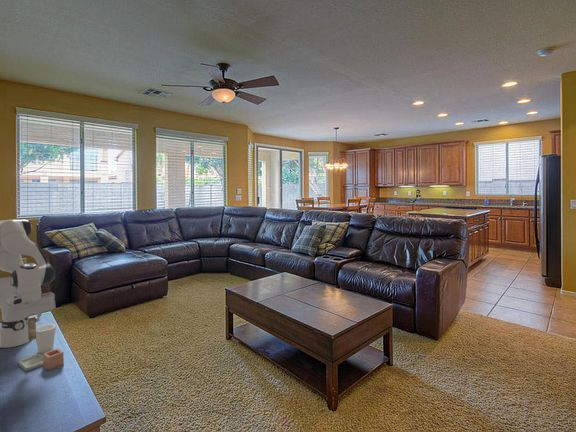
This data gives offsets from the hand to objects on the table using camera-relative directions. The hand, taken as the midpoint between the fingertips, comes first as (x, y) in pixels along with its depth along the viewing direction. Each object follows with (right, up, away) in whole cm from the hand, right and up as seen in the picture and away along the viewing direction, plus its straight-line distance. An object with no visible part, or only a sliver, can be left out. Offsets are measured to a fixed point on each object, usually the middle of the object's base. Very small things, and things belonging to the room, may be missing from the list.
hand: (31, 322), depth 158 cm
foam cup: (-5, -21, +15) cm, 26 cm away
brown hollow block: (+11, -22, 0) cm, 25 cm away
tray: (0, -22, +2) cm, 22 cm away
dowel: (0, -8, +1) cm, 8 cm away
